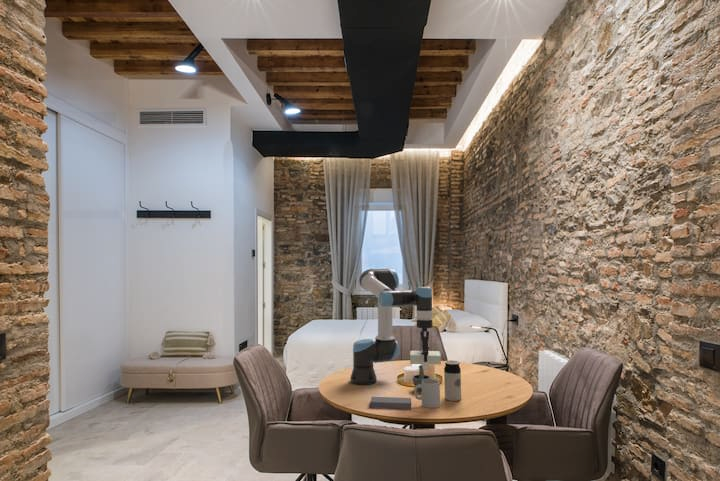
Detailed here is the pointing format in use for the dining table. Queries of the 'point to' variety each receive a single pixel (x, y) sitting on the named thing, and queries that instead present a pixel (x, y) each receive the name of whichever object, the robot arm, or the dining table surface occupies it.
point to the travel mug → (452, 380)
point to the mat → (390, 402)
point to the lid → (432, 356)
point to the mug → (429, 393)
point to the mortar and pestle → (420, 378)
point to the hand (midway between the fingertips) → (425, 365)
